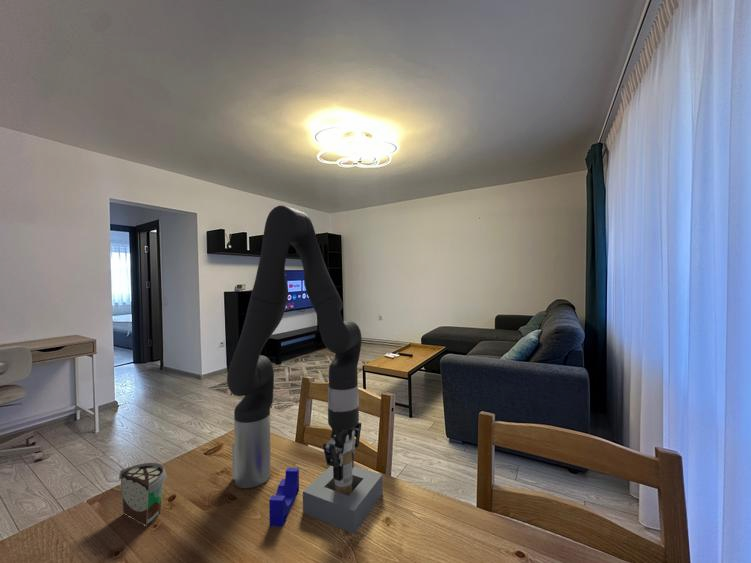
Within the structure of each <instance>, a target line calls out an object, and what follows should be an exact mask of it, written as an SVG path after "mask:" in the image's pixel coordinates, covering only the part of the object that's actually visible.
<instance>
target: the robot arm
mask: <svg viewBox="0 0 751 563" xmlns="http://www.w3.org/2000/svg"><path fill="white" fill-rule="evenodd" d="M314 227H315V226H314V224H313V222H312V220H311V218H310V216H309V215H308V214H306V213H305V212H303V211H301V210H298V209H296V208H293V207H290V206H287V205H277V206H274V208H273V209H271V210H270V211H269V213H268V215H267V217H266V220H265V224H264V229H263V230H264V231H263V236H262V244H261V250H260V257H259V261H258V265H257V270H256V274H255V280H254V284H253V287H252V290H251V292H250V293H251V294H250V298H249V302H248V306H247V311H246V314H245V318H244V321H243V322H244V323H243V326H242V329H241V334H240V336H239V339H238V343H237V345H236V348H235V350H234V353H233V356H232V357H231V358H232V359H231V361H230V363H229V367H228V371H227V376H226V384H227V387H228V389H229V392H230V393H231V394H232V395H234V396H237V397H243V398H242V399H241V401H240V402H239V403H237V405H236V406H235V407H234V412H233V414H234V415H233V416H234V421H233V422H234V425H233V426H234V429H233V431H234V443H232V448H231V449H232V450H231V452H232V453H231V454H232V457H231V460H232V480H234V483H235V484H234V485H235V486H237V487H238V488H242V489H253V488H256V487H258V486H261V485H262V484H264V483H266V482H267V481H268V480H269V479H270V477H271V472H272V470H271V457H272V456H271V408H272V405H273V402H274V389H275V388H274V386H275V383H274V382H275V375H274V374H275V372H274V367H273V363H272V362H271V360H270V359H269V357H267V356H265V355H262V354H261V353H262V351H263V349H264V347H265V345H266V343H267V342H268V341H269V339H270V338H271V336H272V335H273V334H274V333H275V331H276V329H277V328H278V327H279V325H280V323H281V321H282V320H283V317H284V313H285V311H286V307H287V302H288V300H289V298H288V297H289V286H288V280H287V276H286V267H285V266H286V261H287V255H288V252H289V248H290V247H291V246H290V245H292V247H293V248H294V249H295V251H296V252H297V254H298V256H299V259H300V260H301V263H302V269H303V282H304V287H305V288H304V289H305V292H306V294H307V297H308V299H309V301H310V303H311V305H312V308H313V310H314V312H315V314H316V319H317V323H318V328H319V333H320V334H319V335H320V337H321V339H322V343H323V344H324V346H325V348H327V350H328V351H329V352H331V353H333V354H334V359H333V360H332V361H331V363H330V364H329V365H328V366H329V368H328V391H327V424H328V425H329V427H330V428H331V434H330V439H329V441H328V442H324V443H323V444H322V449H323V454H324V457H325V461H326V465H327V466H329V467H330V466H333V477H334V479H335V480H338V481H341V480H342V479H343V464H342V463H343V456H344V455H345V454H346V448H347V442H348V441H349V440H350V439H351V440H352V443H353V447H352V469H353V468H354V466H355V465H354V464H355V463H354V462H355V460H354V454H355V453H356V448H359V445H360V440H361V438H360V437H361V431H362V422H359V421H360V416H359V415H360V414H359V413H360V412H359V409H360V407H359V406H360V405H359V404H360V401H359V399H360V396H359V395H360V394H359V388H358V387H359V386H358V384H359V382H358V379H359V378H358V376H359V375H358V373H359V372H358V363H359V360H360V355H361V350H362V338H363V337H362V331H361V329H360V327H359V325H358V324H357V323H356V322H354V321H352V320H344V319H343V317H342V313H341V311H342V310H343V307H344V304H343V301H342V299H341V296H340V294H339V292H338V290H337V288H336V285H335V284H334V282H333V279H332V278H331V276H330V273H329V270H328V267H327V266H326V263H325V259H324V258H323V254H322V251H321V247H320V244H319V242H318V237H317V235H316V234H317V233H316V231H315V228H314ZM335 446H336V447H337V448H340V449H342V451H339V450H336V447H335ZM337 454H338V455H339V459H337Z"/></svg>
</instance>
